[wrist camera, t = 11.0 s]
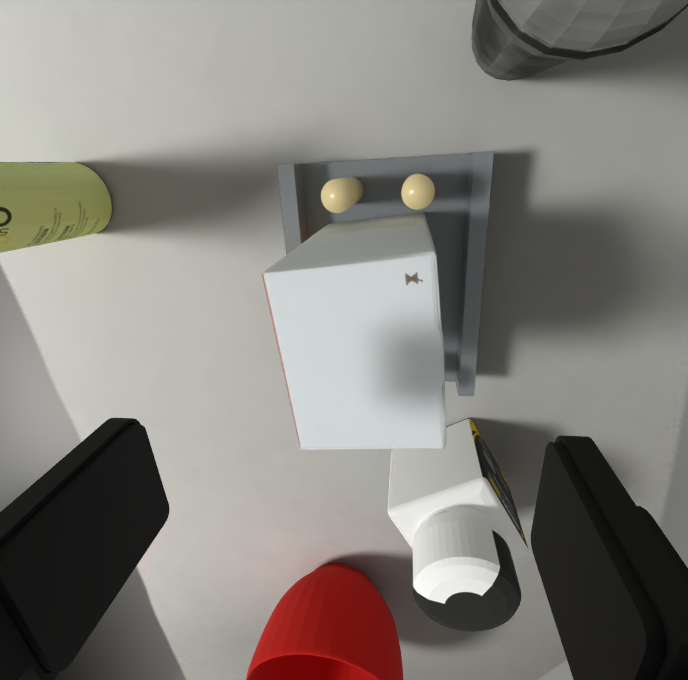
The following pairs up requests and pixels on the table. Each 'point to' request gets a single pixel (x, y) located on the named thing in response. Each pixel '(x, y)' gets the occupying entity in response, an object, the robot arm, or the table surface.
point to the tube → (50, 203)
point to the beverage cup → (560, 31)
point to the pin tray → (407, 198)
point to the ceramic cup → (329, 631)
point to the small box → (362, 335)
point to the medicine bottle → (458, 530)
